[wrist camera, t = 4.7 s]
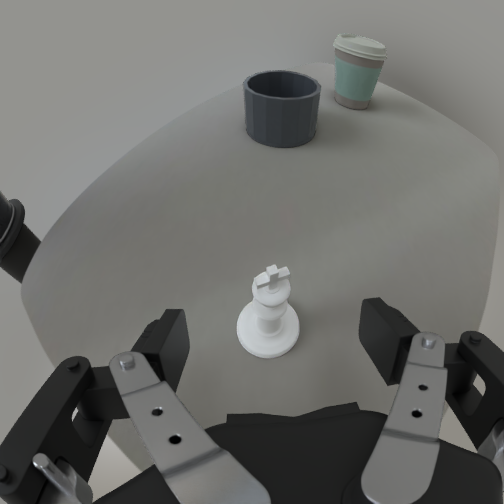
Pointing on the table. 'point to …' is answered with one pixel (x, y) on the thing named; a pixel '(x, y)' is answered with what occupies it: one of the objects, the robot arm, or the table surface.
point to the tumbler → (281, 108)
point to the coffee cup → (357, 69)
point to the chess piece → (269, 316)
